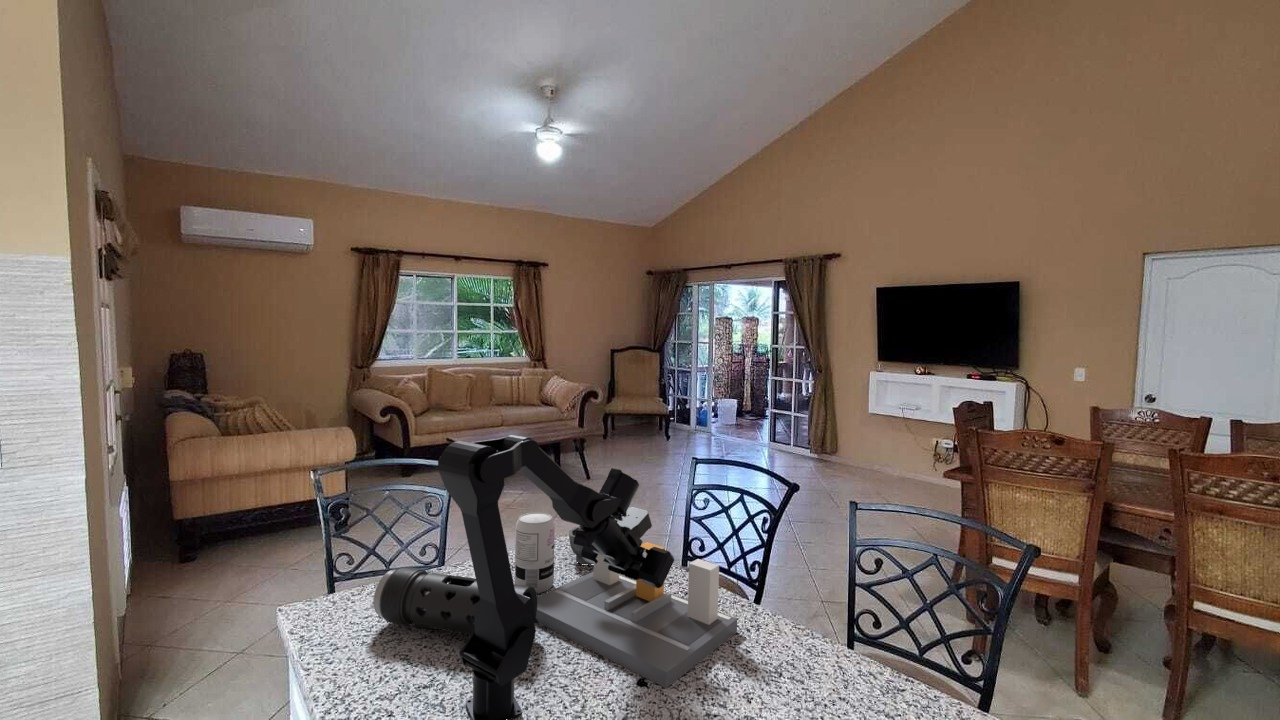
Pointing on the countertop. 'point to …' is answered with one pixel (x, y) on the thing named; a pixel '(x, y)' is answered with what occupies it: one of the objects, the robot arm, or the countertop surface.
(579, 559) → the mortar and pestle
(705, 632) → the slotted gray tray
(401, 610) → the muzzle brake
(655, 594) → the orange tall block
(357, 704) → the countertop surface
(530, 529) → the supplement can
